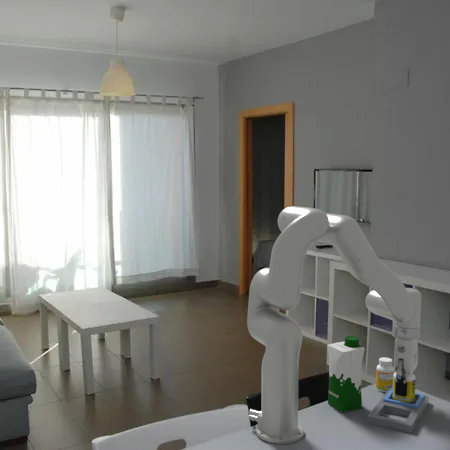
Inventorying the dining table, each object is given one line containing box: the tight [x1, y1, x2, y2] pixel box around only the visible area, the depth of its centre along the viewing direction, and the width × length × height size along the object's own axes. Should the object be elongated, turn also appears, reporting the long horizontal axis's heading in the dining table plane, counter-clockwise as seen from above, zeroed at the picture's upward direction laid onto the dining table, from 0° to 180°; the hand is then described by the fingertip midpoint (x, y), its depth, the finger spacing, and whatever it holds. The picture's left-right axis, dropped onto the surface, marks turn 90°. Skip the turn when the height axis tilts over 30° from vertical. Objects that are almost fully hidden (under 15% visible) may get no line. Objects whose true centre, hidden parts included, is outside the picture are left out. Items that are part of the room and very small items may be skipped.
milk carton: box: [327, 335, 366, 413], centre depth 162 cm, size 9×9×20 cm
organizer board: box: [367, 388, 430, 434], centre depth 158 cm, size 12×22×3 cm, turn 149°
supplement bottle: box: [375, 356, 395, 393], centre depth 174 cm, size 5×5×10 cm
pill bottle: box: [393, 370, 417, 404], centre depth 162 cm, size 6×6×11 cm
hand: (403, 390), depth 162 cm, fingers closed on pill bottle, 6 cm apart
